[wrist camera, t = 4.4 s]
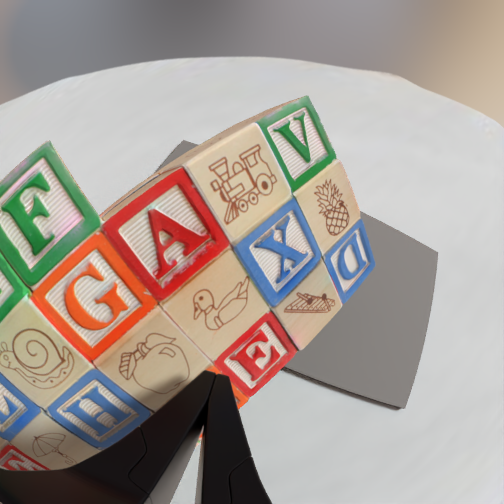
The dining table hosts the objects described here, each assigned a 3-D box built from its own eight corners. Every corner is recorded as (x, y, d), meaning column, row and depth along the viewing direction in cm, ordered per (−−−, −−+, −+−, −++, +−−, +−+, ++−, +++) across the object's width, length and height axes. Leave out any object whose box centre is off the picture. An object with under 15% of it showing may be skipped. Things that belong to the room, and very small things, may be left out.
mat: (401, 408, 15) (404, 408, 15) (91, 265, 18) (89, 262, 18) (435, 254, 21) (438, 252, 20) (183, 143, 23) (183, 140, 23)
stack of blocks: (303, 248, 19) (213, 78, 14) (379, 267, 14) (278, 29, 8) (71, 445, 12) (-67, 312, 7) (83, 518, 7) (-114, 363, 2)
